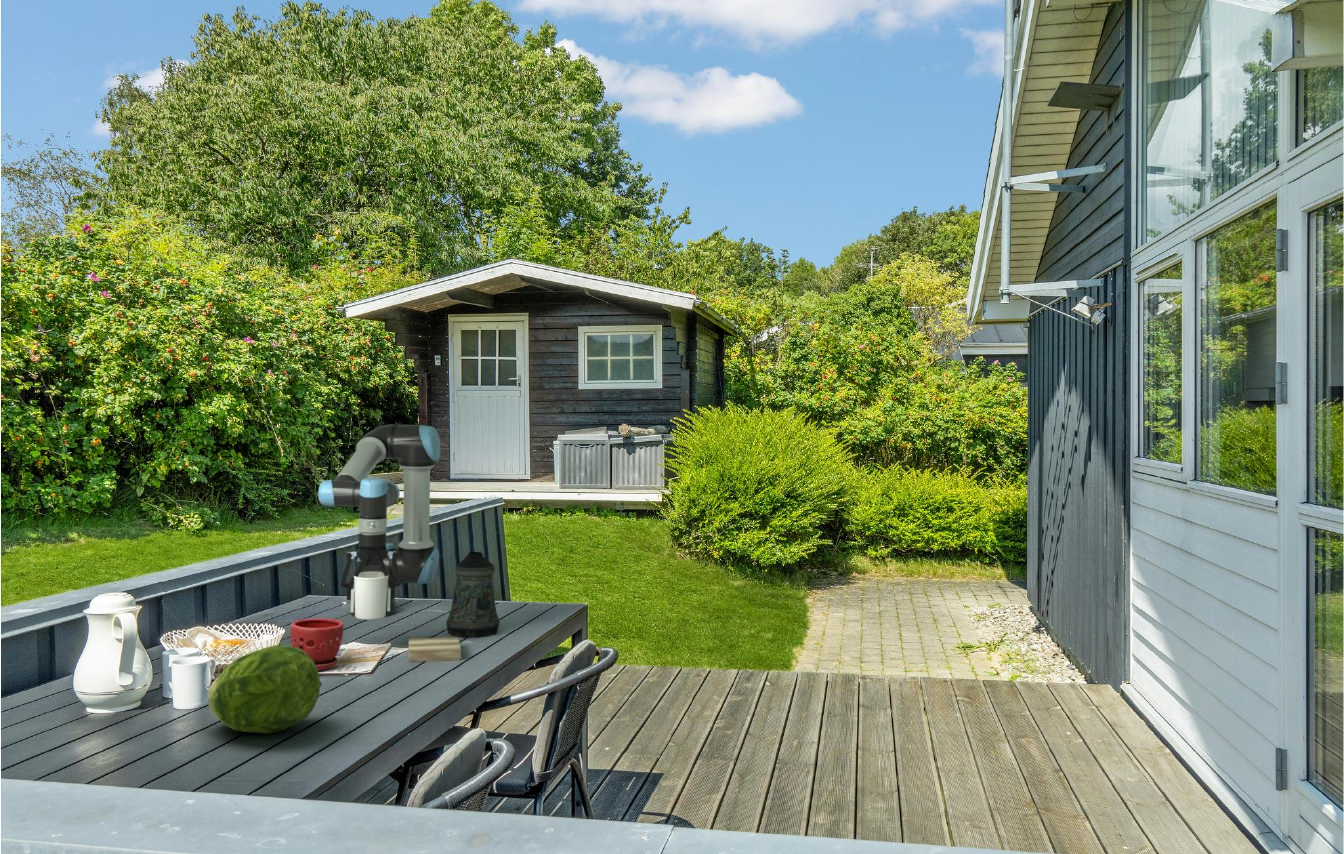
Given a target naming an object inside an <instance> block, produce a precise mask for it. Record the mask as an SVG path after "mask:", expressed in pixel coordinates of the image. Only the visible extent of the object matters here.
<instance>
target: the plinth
mask: <svg viewBox="0 0 1344 854" xmlns="http://www.w3.org/2000/svg"><path fill="white" fill-rule="evenodd" d="M408 651H409V652H408ZM408 651H407V652H408V663H414V662H415V661H417V662H415V663H419V662H418V661H425V662H443V661H442V660H451V661H456V660H455V659H462V647H461V644H460V640H459V637H456V636H453V637H429V638H428V637H427V638H408ZM453 659H454V660H453ZM439 660H441V661H439ZM412 661H414V662H412Z"/></svg>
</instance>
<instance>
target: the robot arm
mask: <svg viewBox="0 0 1344 854" xmlns="http://www.w3.org/2000/svg"><path fill="white" fill-rule="evenodd" d="M441 448H442V447H441V439H440V436H439V432H438V430H437V429H436V427H434V426H431V425H425V424H424V425H423V424H392V423H391V424H385V425H380V426H379V427H376V428H374V429H372V430H370V431H369V432H367V433H366V434H365V435H363V437H362V438H360V439H359V441H358V443H357V444H356V448H355V449H356V450H355V452H354V453H353V455H352V456H351V457H350V458H349V460H348V461H347V462H346V463H345V465H344V466H343V468H342V469H341V471H340V472H339V473H338V474H337V476H336V477H335V478H334V480H333V479H329V480H322V481H321V482H320V483H319V486H318V492H317V495H318V501H319V503H320V504H321V505H322V506H329V507H353V508H356V507H358V508H359V517H358V521H359V522H358V532H359V534H358V548H357V550H356V551H347V552H346V565H345V566H344V570H343V574H342V578H341V581H340V584H339V585H340V587H341V588H344V589H346V600H347V601H350V605H349V608H350V609H349V610H350V611H349V614H350V615H351V616H354V617H355V603H354V576H356V577H358V575H359V574H360V572H368V571H378V572H383V574H384V575H385V576H388V575H389V578H388V594H387V605H386V615H385V617H387V616H392V615H395V614H396V613H397V609H398V605H397V602H396V599H395V595H396V594H395V591H396V588H397V587H401V586H402V584H417V585H420V584H430V583H432V582H433V581H434V579H435V577H436V573H437V570H438V567H439V559H440V550H439V549H436V548H435V547H434V545H435V543H434V542H433V541H432V540H431V539H430V520H431V519H430V514H431V513H430V512H431V511H430V509H431V506H430V505H431V503H430V501H431V498H430V497H431V496H430V495H431V470H432V469H433V468H434V467H436V462H437V461H440V457H441V452H442V451H441V450H442V449H441ZM390 459H391V460H398V465H399V467H400V468H401V469H402V471H403V512H402V514H403V516H402V517H403V518H402V519H403V520H402V521H403V523H402V524H403V525H402V526H403V529H402V532H403V533H402V534H403V535H402V540H401V541H400V542H399V543H398V547H395V545H394V543H388V542H387V534H386V531H387V527H388V526H387V525H388V524H387V521H388V517H387V516H388V515H387V514H388V508H389V507H391V506H393V505H394V504H396V503H397V502H398V501H399V498H400V494H401V493H400V489H399V486H398V485H397V484H396V483H394V482H393V481H389V480H387V479H386V478H380V477H378V478H377V477H369V475H370V474H371V472H372V471H373V470H374V469H375V466H376V465H377V464H379V463H381V462H383V460H390ZM368 477H369V478H368ZM355 557H357V559H356V569H355V571H354V573H353V575H352V576H351V577H350V580H349V582H347V579H348V575H349V573H350V570H351V569H350V568H351V564H352V561H353V560H355Z"/></svg>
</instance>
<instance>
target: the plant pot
mask: <svg viewBox="0 0 1344 854" xmlns="http://www.w3.org/2000/svg"><path fill="white" fill-rule="evenodd" d="M343 635H344V623H343V621H340V620H336V619H331V618H305V619H301V620H299V619H298V620H296V621H293V622H292V623H291V625H290V646H292V647H296V648H300V649H301V650H303V651H304V652H305V653H307V654H308V655H309V656H310V657H311V659H312V660H313V661H314V664H315V666H316V668H317V671H318V672H319V671H325V670H328V669H331V668H333V667H335V666H336V664H337V663H338V657H337V654H338V652H339V651H340V648H341V645H342V640H343Z"/></svg>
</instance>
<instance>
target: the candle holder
mask: <svg viewBox="0 0 1344 854" xmlns="http://www.w3.org/2000/svg"><path fill="white" fill-rule="evenodd" d="M388 578H389V575H388V576H385V575H384V574H383V572H378V571H368V572H360V574H359V575H358V577H356V576H354V584H353V588H354V603H355V616H354V617H355V618H356V619H359V620H367V621H368V620H369V621H370V620H371V621H372V620H380V619H382V618H384V617H386V616H385V615H386V605H387V594H388Z"/></svg>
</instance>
